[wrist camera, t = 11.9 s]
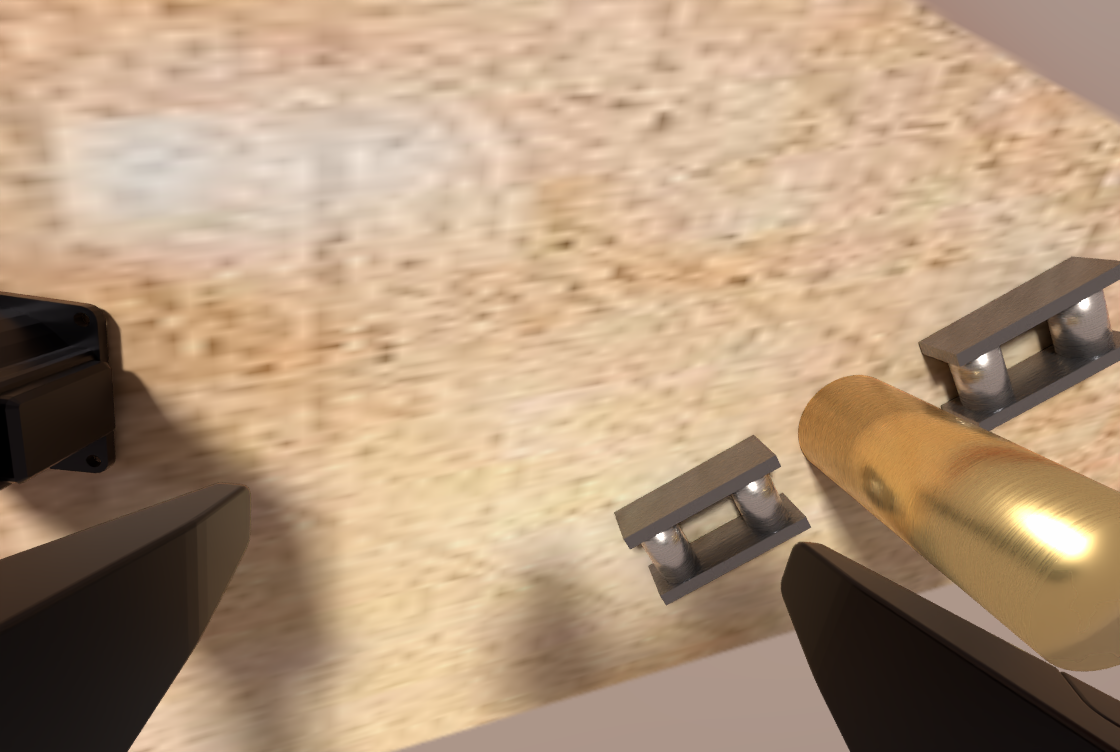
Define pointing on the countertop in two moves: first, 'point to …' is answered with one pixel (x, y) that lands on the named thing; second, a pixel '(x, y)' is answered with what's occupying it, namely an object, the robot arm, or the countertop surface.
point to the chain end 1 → (726, 546)
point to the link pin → (980, 514)
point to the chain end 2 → (1054, 296)
